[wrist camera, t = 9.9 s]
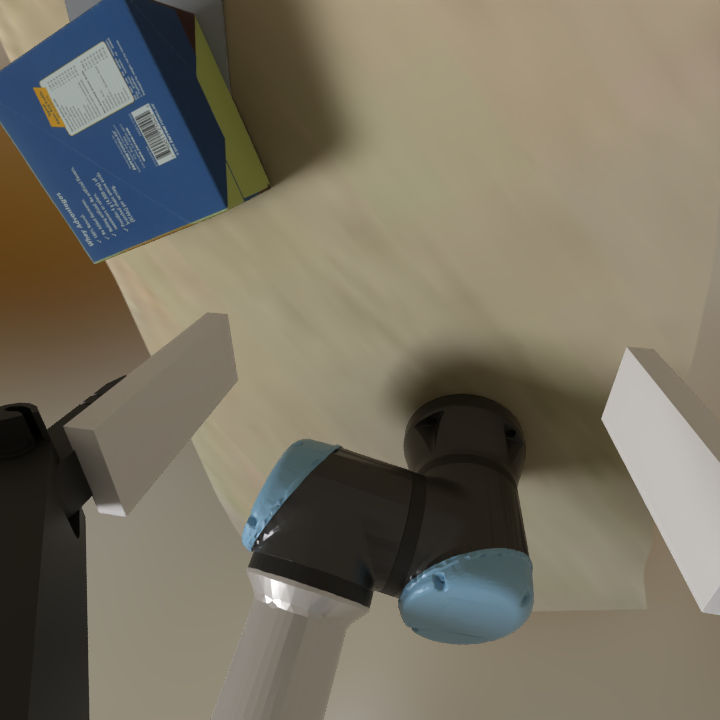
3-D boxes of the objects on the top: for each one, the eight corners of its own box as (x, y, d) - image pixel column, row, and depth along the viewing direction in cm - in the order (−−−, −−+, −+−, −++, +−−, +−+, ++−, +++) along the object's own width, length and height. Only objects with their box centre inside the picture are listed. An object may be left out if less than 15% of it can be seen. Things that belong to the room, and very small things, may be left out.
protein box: (273, 189, 43) (158, 237, 49) (195, 10, 37) (71, 88, 42) (228, 212, 35) (93, 267, 40) (114, -18, 28) (-30, 84, 33)
